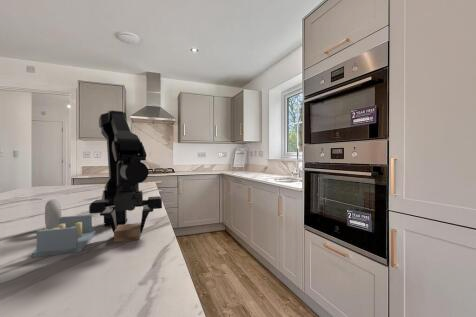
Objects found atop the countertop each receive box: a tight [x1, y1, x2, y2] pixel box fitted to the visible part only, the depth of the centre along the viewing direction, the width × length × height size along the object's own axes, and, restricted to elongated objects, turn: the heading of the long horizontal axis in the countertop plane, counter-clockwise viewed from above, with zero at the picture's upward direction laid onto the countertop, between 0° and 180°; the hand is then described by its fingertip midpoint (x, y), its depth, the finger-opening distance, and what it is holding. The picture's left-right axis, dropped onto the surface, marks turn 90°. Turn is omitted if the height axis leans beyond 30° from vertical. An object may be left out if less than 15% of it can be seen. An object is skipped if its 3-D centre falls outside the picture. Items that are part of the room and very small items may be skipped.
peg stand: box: [31, 214, 97, 258], centre depth 63 cm, size 10×14×6 cm
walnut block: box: [113, 222, 142, 243], centre depth 68 cm, size 6×6×3 cm
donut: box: [44, 199, 62, 230], centre depth 75 cm, size 10×4×10 cm, turn 46°
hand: (128, 233), depth 68 cm, fingers closed on walnut block, 6 cm apart
